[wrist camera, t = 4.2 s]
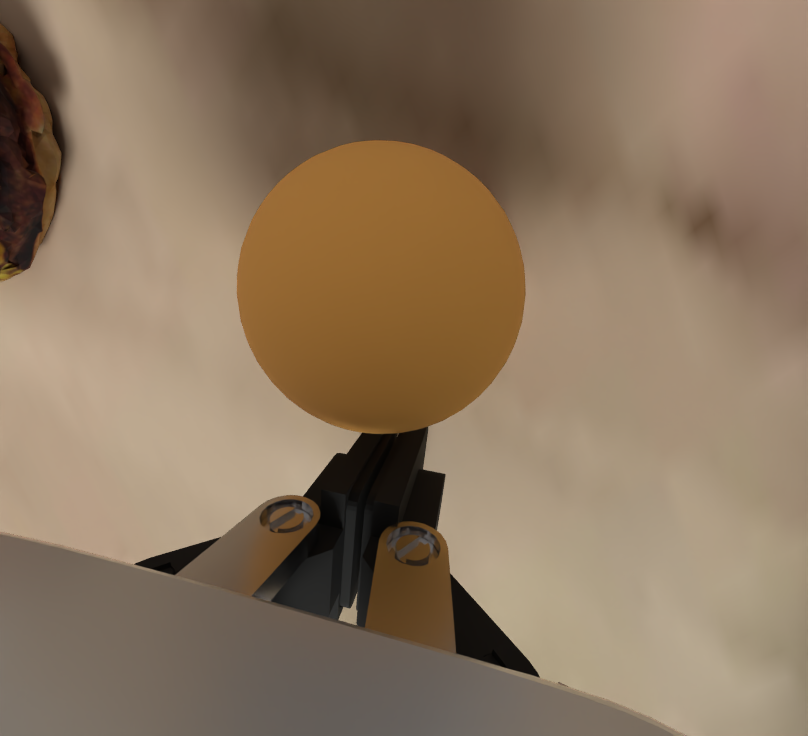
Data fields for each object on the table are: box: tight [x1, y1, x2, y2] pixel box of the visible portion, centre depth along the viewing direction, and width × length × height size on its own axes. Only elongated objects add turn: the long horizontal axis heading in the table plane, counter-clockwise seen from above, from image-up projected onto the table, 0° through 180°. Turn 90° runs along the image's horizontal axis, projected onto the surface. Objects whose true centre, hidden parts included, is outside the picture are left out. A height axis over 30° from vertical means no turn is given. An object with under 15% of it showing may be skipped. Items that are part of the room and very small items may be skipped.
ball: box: [237, 140, 525, 434], centre depth 8 cm, size 6×6×6 cm
